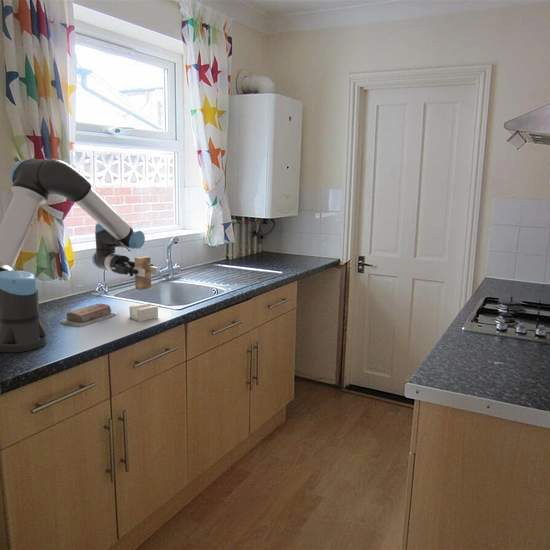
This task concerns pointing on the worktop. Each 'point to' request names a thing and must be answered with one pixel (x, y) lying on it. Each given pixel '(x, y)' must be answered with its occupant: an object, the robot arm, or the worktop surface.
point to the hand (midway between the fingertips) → (150, 272)
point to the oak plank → (145, 264)
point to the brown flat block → (88, 315)
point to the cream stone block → (143, 312)
